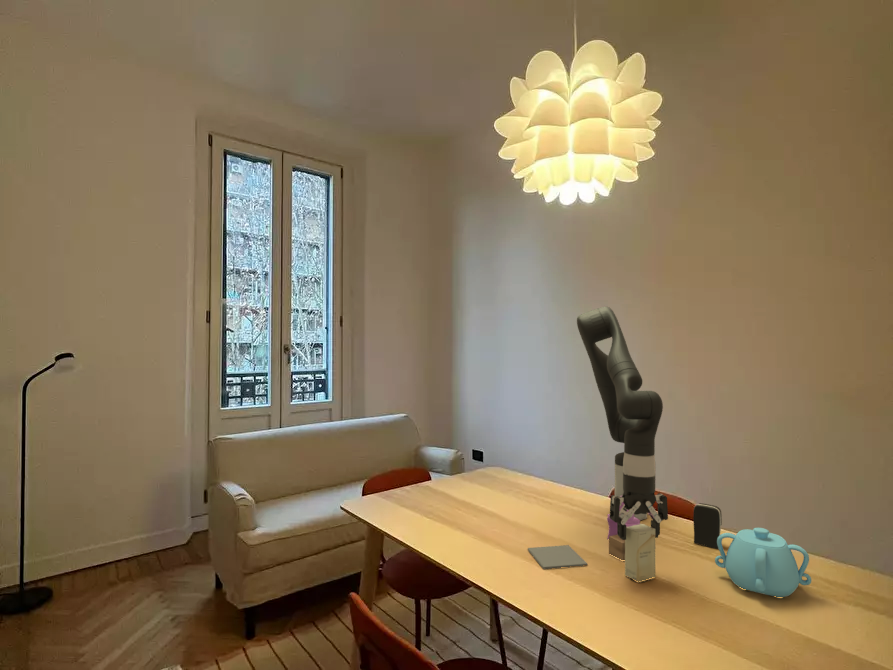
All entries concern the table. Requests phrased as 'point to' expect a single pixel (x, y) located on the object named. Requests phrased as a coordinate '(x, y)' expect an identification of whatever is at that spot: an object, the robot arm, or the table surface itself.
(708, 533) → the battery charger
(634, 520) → the toy chair
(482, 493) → the table surface
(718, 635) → the table surface
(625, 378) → the robot arm
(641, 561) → the skincare box
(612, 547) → the walnut block
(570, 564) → the coaster
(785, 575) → the decorative pot
